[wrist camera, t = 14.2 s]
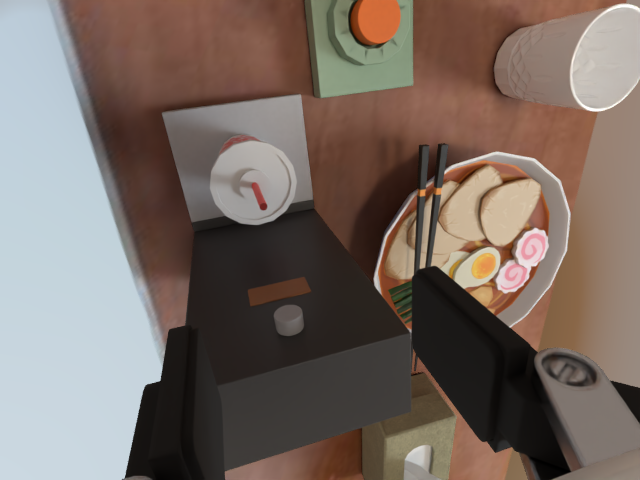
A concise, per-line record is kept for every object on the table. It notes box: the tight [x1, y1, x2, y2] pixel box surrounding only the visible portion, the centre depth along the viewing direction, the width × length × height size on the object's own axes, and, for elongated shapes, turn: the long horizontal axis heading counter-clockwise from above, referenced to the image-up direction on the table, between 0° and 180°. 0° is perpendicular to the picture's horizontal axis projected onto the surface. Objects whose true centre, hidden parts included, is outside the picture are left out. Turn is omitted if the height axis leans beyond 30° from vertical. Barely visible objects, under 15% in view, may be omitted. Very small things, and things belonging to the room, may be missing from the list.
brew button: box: [350, 0, 401, 45], centre depth 30 cm, size 4×4×2 cm
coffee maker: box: [162, 94, 411, 471], centre depth 27 cm, size 17×12×22 cm
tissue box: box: [362, 373, 457, 480], centre depth 50 cm, size 19×10×16 cm, turn 4°
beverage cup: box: [210, 134, 297, 225], centre depth 28 cm, size 6×6×14 cm
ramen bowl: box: [374, 143, 571, 371], centre depth 42 cm, size 25×23×8 cm
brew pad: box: [304, 0, 413, 98], centre depth 32 cm, size 11×9×4 cm
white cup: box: [494, 4, 640, 111], centre depth 35 cm, size 8×8×10 cm
